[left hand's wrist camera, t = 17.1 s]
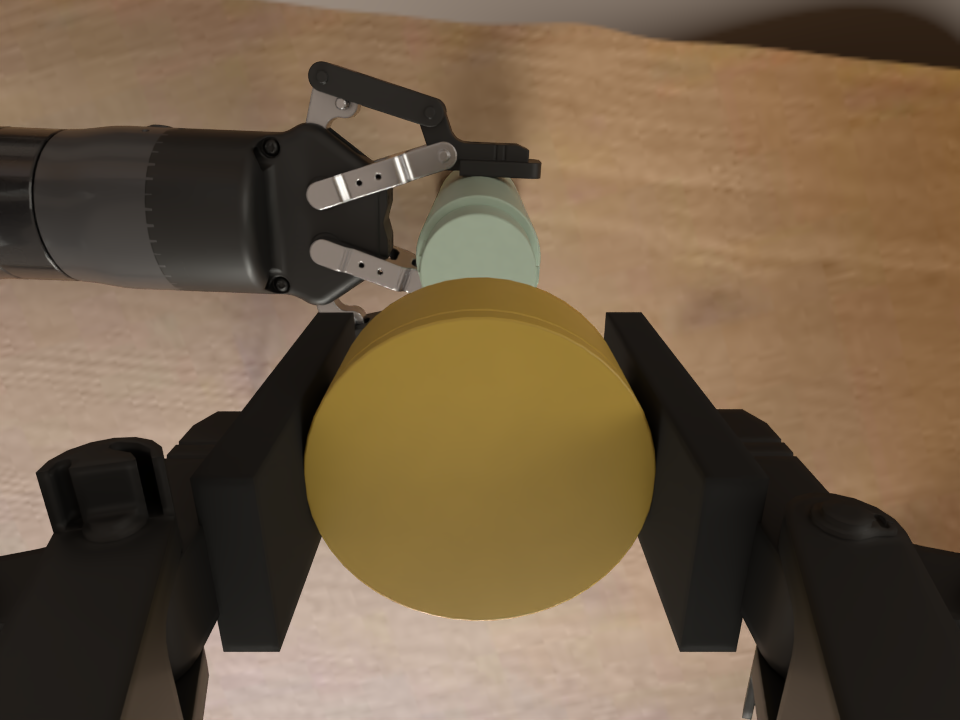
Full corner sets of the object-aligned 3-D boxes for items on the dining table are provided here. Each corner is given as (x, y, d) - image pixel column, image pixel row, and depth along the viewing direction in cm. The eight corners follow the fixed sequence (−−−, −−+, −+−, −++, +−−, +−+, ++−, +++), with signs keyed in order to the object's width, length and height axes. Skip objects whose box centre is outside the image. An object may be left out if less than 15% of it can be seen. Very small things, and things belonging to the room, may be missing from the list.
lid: (672, 328, 11) (717, 380, 9) (564, 565, 13) (580, 653, 11) (374, 234, 11) (348, 266, 9) (306, 497, 13) (271, 577, 10)
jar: (436, 242, 37) (408, 332, 23) (439, 159, 36) (411, 198, 21) (515, 247, 38) (539, 339, 23) (522, 164, 36) (552, 208, 21)
